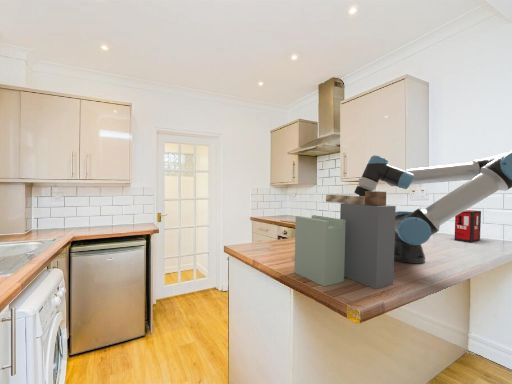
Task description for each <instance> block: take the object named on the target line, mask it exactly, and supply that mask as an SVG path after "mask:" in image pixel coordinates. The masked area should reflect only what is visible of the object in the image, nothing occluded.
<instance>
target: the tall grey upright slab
mask: <svg viewBox="0 0 512 384" xmlns="http://www.w3.org/2000/svg"><path fill="white" fill-rule="evenodd" d="M396 207H397V206H396V205H387V204H386V206H371V205H361V204H349V203H340V209H339V210H340V213H339V215H340V217H339V219H343V220H346V222H345V261H344V278H346V279H349V280H351V281H355V282H357V283H359V284H362V285H364V286H367V287H370V288H371V289H375V290H377V289H381V288H384V287H388V286H391V285H394V277H395V276H394V273H395V271H394V270H395V266H394V265H395V260H394V243H395V212H396V209H397V208H396Z"/></svg>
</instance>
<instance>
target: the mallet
mask: <svg viewBox="0 0 512 384" xmlns="http://www.w3.org/2000/svg"><path fill="white" fill-rule="evenodd" d="M325 203H336V204H337V203H339V204H341V203H349V204H361V205H371V206H386V205H387V191H378V190H377V191H375V190H374V191H365V196H359V195H345V194H344V195H343V194H326V195H325Z"/></svg>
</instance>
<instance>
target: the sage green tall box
mask: <svg viewBox="0 0 512 384" xmlns="http://www.w3.org/2000/svg"><path fill="white" fill-rule="evenodd" d="M345 222H346V220H343V219H340V218H336V217H328V216H321V215H316V214H315V215H314V214H312V215H311V217H306V216H300V215H295V226H294V227H295V229H294V231H295V233H294V271H293V272H294V273H295V274H297V275H298V276H301V277H303V278H305V279H308V280H310V281H312V282H313V283H316V284H318V285H320V286H322V287H327V286H331V285H336V284H339V283H343V282H344V281H345V277H344V261H345Z"/></svg>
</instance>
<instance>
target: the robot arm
mask: <svg viewBox="0 0 512 384" xmlns="http://www.w3.org/2000/svg"><path fill="white" fill-rule="evenodd" d="M388 163H389V160H388V159H387V158H385V157H383V156H379V155H376V154H375V155H374V154H373V155H372V156H371V157H370V159H369V160H368V162H367V164H366V166H365V169H364V171H363V173H362V175H361V178H358V180H359V182H358V183H357V184H358V185H357V186H356V187H355V190H354V194H356V195H357V196H365V191H375V189H376V188H377V185H379V184H378V183H379V181H381V182H384V183H386V184H387V185H389V186H391V187H398V188H400V189H403V190H407V189H408V188H409V187H410V186H412V185H421V184H422V185H424V184H432V183H433V184H435V183H447V182H457V181H458V182H459V181H467V182H465V183H463V184H461V185H459V186H458V187H456V188H455V189H454V190H452V191H451V192H448V193H447V194H446V195H444V196H442V197H441V198H440V199H438V200H436V201H435V202H433V203H432V204H430V205H428V206H427V207H425V208H417V209H415V210H413V211H404V210H401V211H399V210H397V211H395V243H394V261H397V262H401V263H402V262H403V263H407V264H423V263H425V262H426V255H425V252H424V249H423V246H422V244H425V243H426V242H428V241H429V239H430V238H431V236H433V235H434V234H436V233H437V232H439V231H440V227H441V225H443V224H445V223H446V222H449V220H451V219H453V218H455V216H456V215H458V214H460V213H461V212H463V211H465V210H468V209H470V208H472V207H473V206H475V205H476V204H478V203H480V202H482V201H483V200H484V199H487V198H488V197H490V196H492V194H494V193H496V192H498V191H504V192H505V191H508V190H510V189H511V188H512V150H510V151H508V152H504V153H499V154H495V155H493V156H490V157H485V158H481V159H473V160H472V161H470V162H465V163H464V162H463V163H455V164H454V163H453V164H447V165H446V164H444V165H435V166H427V167H426V166H425V167H418V168H417V167H416V168H407V169H401V168H398V167H396V166H392V165H390V164H388Z"/></svg>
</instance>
